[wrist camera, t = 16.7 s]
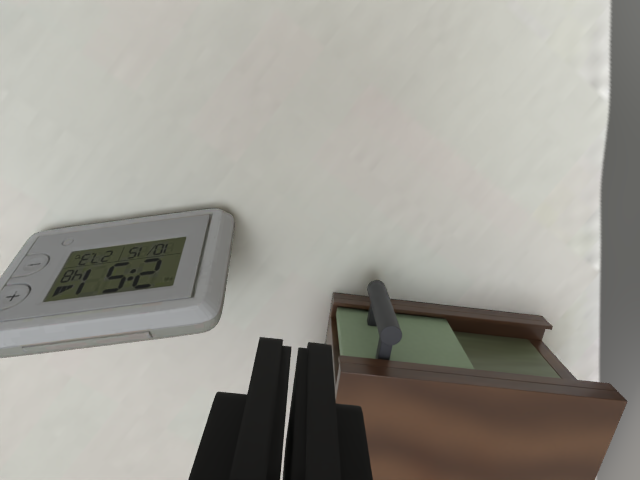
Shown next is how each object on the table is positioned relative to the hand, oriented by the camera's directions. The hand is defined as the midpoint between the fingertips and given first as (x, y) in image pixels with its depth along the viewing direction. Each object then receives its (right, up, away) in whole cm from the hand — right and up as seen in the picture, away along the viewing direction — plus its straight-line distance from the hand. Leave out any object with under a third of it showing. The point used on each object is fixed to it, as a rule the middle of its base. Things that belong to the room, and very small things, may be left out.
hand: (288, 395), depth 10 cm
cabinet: (+10, -8, +29) cm, 32 cm away
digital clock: (-13, +3, +26) cm, 29 cm away
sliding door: (+7, -1, +26) cm, 27 cm away
